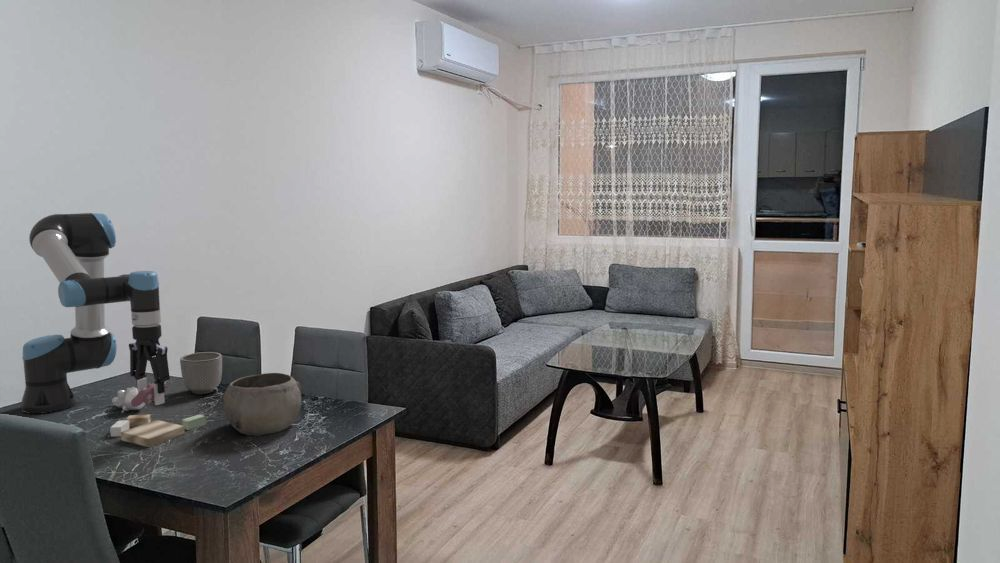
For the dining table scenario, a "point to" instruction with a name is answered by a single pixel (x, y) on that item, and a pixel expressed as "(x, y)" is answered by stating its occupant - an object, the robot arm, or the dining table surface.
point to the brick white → (119, 427)
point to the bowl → (262, 403)
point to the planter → (201, 371)
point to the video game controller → (145, 395)
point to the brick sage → (194, 422)
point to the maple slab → (152, 433)
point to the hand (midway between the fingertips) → (151, 401)
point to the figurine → (126, 399)
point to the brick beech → (138, 420)
